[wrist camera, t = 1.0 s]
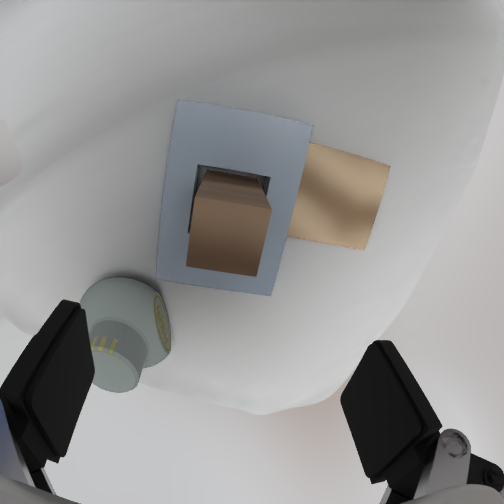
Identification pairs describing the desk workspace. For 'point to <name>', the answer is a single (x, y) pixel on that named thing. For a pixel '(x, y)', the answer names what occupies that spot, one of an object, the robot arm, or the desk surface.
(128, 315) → the air freshener
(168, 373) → the desk surface
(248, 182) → the walnut block
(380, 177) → the cork mat
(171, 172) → the holder
